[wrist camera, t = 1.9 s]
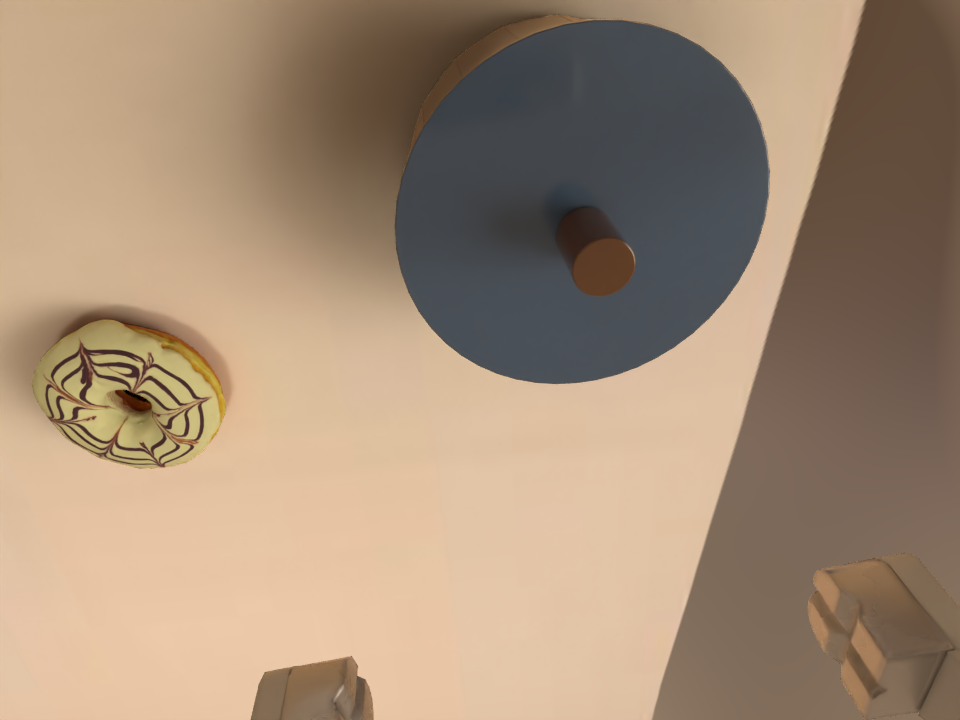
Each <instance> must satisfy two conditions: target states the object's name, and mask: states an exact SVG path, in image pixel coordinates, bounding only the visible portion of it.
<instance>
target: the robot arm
mask: <svg viewBox="0 0 960 720" xmlns="http://www.w3.org/2000/svg"><path fill="white" fill-rule="evenodd" d="M813 583H814V585H815V586H816V588H817V591H816V592H815V593H814V594H813V595H812V596H811V597H810V598H809V604H808V614H809V619H810V623H811V626H812V629H813V631H814V633H815V636H816V638H817V640H818V642H819V644H820V645H821V647H822V649H823V650H824V652H825V653H826V654H827V655H829V656H830V657H832V658H833V659H835V660H836V661H838V662H839V663H841V664H842V670H841V681H842V683H843V684H844V686H845V687H846V689H847V691H848V692H849V694H850V696H851V697H852V699H853V701H854V702H855V704H856V706H857V707H858V709H859V711H860V712H861V714H862V716H863V717H864V719H865V720H869V719H876V718H882V717H889V716H896V715H903V714H909V713H915V712H919V716H920V717H921V718H923V719H924V720H960V606H959V605H958V604H957V603H956V602H955V600H954V599H953V598H952V597H951V596H950V595H949V593H948V592H947V591H946V590H945V589H944V588H943V587H942V585H941V584H940V583H939V582H938V581H937V580H936V579H935V577H934V576H933V575H932V574H931V573H930V571H929V570H928V569H927V568H926V567H925V566H924V565H923V564H922V562H921V561H920V560H919V559H918V558H917V557H915V556H913V555H912V554H908V553H901V554H896V555H891V556H886V557H880V558H873V559H868V560H863V561H858V562H854V563H848V564H844V565H839V566H834V567H829V568H824V569H820V570H818V571H817V572H816V573H815V575H814V580H813ZM357 670H358V665H357V664H356V662H355V661H354V659H353V657H352V656H350V657H345V658H339V659H334V660H329V661H323V662H318V663H312V664H307V665H302V666H293V667H288V668H283V669H278V670H273V671H268V672H265V673H264V675H263V677H262V679H261V681H260V683H259V685H258V690H257V694H256V699H255V703H254V707H253V712H252V716H251V720H374V715H373V703H372V696H371V692H370V689H369V686H368V684H367V682H366V680H365V679H363V678H361V677H358V676H357Z"/></svg>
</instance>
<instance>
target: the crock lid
mask: <svg viewBox="0 0 960 720" xmlns="http://www.w3.org/2000/svg"><path fill="white" fill-rule="evenodd" d="M769 178H770V169H769V160H768V151H767V145H766V141H765V137H764V133H763V129H762V126H761V123H760V120H759V118H758V116H757V113H756V111H755V109H754V106H753V104H752V102H751V100H750V99H749V97H748V95H747V94H746V92H745V91H744V89H743V88H742V86H741V85H740V83H739V81H738V80H737V79H736V78H735V77H734V76H733V75H732V74H731V72H730V71H729V70H728V69H727V68H726V67H725V66H724V65H723V64H722V63H721V62H720V61H719V60H718V59H717V58H715V57H714V56H713V55H711V54H710V53H709V52H708V51H706V50H705V49H704V48H702V47H701V46H700V45H698V44H696V43H694V42H692V41H690V40H688V39H687V38H685V37H683V36H681V35H679V34H677V33H674V32H671V31H668V30H665V29H662V28H660V27H657V26H654V25H651V24H647V23H642V22H636V21H629V20H623V19H586V20H579V21H572V22H565V23H560V24H557V25H554V26H550V27H547V28H543V29H540V30H537V31H534V32H531V33H529V34H527V35H525V36H523V37H520V38H518V39H516V40H514V41H512V42H510V43H507V44H506V45H504V46H502V47H501V48H499V49H498V50H496V51H495V52H493V53H492V54H490V55H488V56H487V57H485V58H484V59H482V60H481V61H480V62H478V63H477V64H476V65H475V66H474V67H472V68H471V69H470V70H469V71H468V72H467V73H465V74H464V75H463V76H462V77H461V78H459V79H458V80H457V82H456V83H455V84H454V85H453V86H452V87H451V88H450V89H449V90H448V91H447V93H446V94H445V95H444V96H443V97H442V98H441V99H440V100H439V102H438V103H437V105H436V106H435V107H434V109H433V110H432V112H431V113H430V115H429V116H428V118H427V119H426V120H425V122H424V123H423V125H422V127H421V129H420V131H419V133H418V135H417V137H416V139H415V141H414V143H413V145H412V147H411V149H410V152H409V154H408V157H407V160H406V163H405V166H404V168H403V171H402V175H401V180H400V184H399V189H398V194H397V200H396V215H395V237H396V250H397V255H398V260H399V264H400V269H401V273H402V276H403V279H404V281H405V284H406V287H407V289H408V292H409V294H410V296H411V298H412V300H413V302H414V303H415V305H416V307H417V309H418V311H419V312H420V314H421V315H422V317H423V318H424V319H425V321H426V322H427V323H428V325H429V326H430V327H431V329H432V330H433V331H434V332H435V333H436V334H437V335H438V336H439V337H440V338H441V339H442V340H443V341H444V342H445V343H446V344H447V345H449V346H450V347H451V348H453V349H454V350H455V351H456V352H458V353H459V354H460V355H461V356H463V357H465V358H466V359H468V360H470V361H472V362H473V363H475V364H477V365H478V366H480V367H483V368H485V369H487V370H490V371H492V372H494V373H497V374H500V375H503V376H507V377H510V378H513V379H517V380H523V381H529V382H534V383H548V384H566V383H580V382H586V381H593V380H598V379H602V378H606V377H610V376H614V375H618V374H620V373H623V372H626V371H628V370H631V369H634V368H637V367H639V366H641V365H643V364H645V363H647V362H649V361H651V360H653V359H655V358H657V357H659V356H661V355H662V354H664V353H665V352H667V351H669V350H670V349H672V348H674V347H675V346H677V345H678V344H679V343H681V342H682V341H683V340H685V339H686V338H687V337H689V336H690V335H691V334H693V333H694V332H695V331H696V330H697V329H698V328H699V327H700V326H701V325H702V324H703V323H705V322H706V321H707V320H708V319H709V318H710V317H711V316H712V315H713V313H714V312H715V311H716V310H717V309H718V308H719V307H720V306H721V304H722V303H723V302H724V301H725V300H726V298H727V297H728V295H729V294H730V293H731V291H732V290H733V288H734V287H735V286H736V284H737V283H738V281H739V280H740V278H741V276H742V274H743V272H744V271H745V269H746V267H747V265H748V264H749V262H750V259H751V257H752V255H753V252H754V250H755V248H756V245H757V243H758V241H759V237H760V234H761V231H762V227H763V224H764V220H765V216H766V210H767V204H768V198H769Z"/></svg>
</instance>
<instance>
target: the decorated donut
mask: <svg viewBox="0 0 960 720" xmlns="http://www.w3.org/2000/svg"><path fill="white" fill-rule="evenodd" d="M32 388H33V393H34V395H35V397H36V400H37V402H38V403H39V405H40V406H41V408H42V410H43V411H44V412H45V413H46V415H47V416H48V418H49V419H50V421H51V422H52V423H53V424H54V425H55V426H56V427H57V429H58V430H59V431H60V432H61V433H62V434H63V436H65V437H66V438H67V439H68V440H69V441H71V442H72V443H74V444H75V445H78V446H79V447H81V448H83V449H85V450H87V451H88V452H90V453H91V454H93V455H95V456H96V457H98V458H101V459H104V460H109V461H112V462H115V463H119V464H123V465H128V466H132V467H135V468H151V469H153V468H159V467H170V466H174V465H178V464H180V463H186V462H188V461H190V460H192V459H193V458H195V457H196V456H197V455H199V454H200V453H201V452H203V451H204V449H205V448H206V446H207V445H208V444H209V443H210V441H211V440H212V439H213V437H214V436H215V435H216V433H217V432H218V430H219V427H220V425H221V422H222V419H223V417H224V415H225V408H226V404H225V400H224V397H223V392H222V389H221V384H220V381H219V379H218V377H217V376H216V374H215V373H214V371H213V370H212V368H211V367H210V365H209V364H208V363H207V361H206V360H205V359H204V358H203V357H202V356H201V355H200V354H199V353H198V352H197V351H196V350H195V349H193V348H192V347H191V346H189V345H188V344H186V343H184V342H183V341H182V340H180V339H178V338H176V337H175V336H173V335H170V334H168V333H165V332H161V331H157V330H153V329H148V328H143V327H139V326H134V325H129V324H122V323H120V322H118V321H115V320H105V319H104V320H99V321H95V322H92V323H89V324H87V325H85V326H83V327H82V328H80V329H79V330H77V331H75V332H73V333H71V334H69V335H67V336H65V337H64V338H62V339H61V340H60V341H58V343H57V344H56V345H54V346H53V347H52V348H50V349H49V350H48V351H47V353H46V354H45V355H44V356H43V357H42V358H41V360H40V363H39V364H38V366H37V368H36V370H35V372H34V377H33V381H32ZM123 390H128V391H130V392H132V393H135V394H137V395H140V396H142V397H144V398H146V399H147V400H149V401H150V402H143V401H141V400H139V399H136V398H134V397H132V396H130V395H128V394H126V393H125V392H124V391H123Z"/></svg>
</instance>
